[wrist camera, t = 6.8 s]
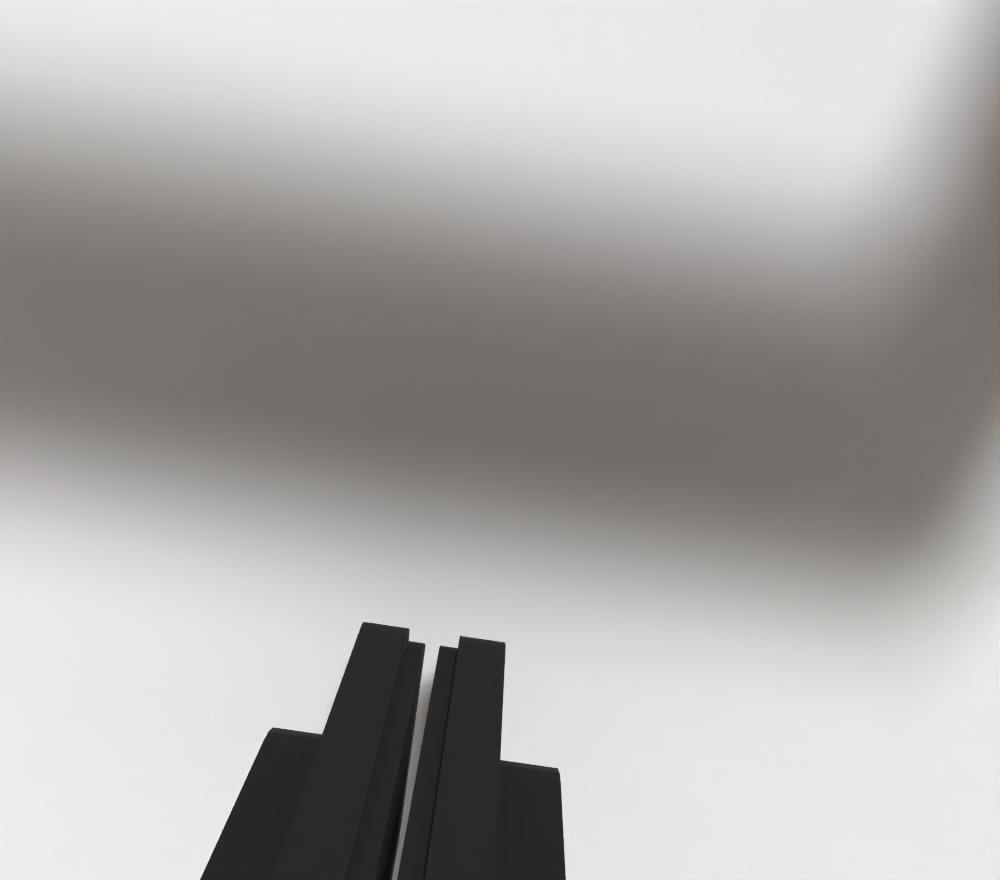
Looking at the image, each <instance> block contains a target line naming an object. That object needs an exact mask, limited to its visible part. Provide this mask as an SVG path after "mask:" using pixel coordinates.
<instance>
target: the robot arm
mask: <svg viewBox="0 0 1000 880" xmlns="http://www.w3.org/2000/svg"><path fill="white" fill-rule="evenodd" d="M424 652H425V644H424V643H417V642H410V641H409V628H402V627H395V626H388V625H381V624H374V623H367V622H363V623H362V626H361V628H360V631H359V634H358V636H357V639H356V642H355V645H354V648H353V650H352V653H351V656H350V659H349V661H348V664H347V667H346V670H345V673H344V675H343V678H342V681H341V684H340V687H339V689H338V692H337V695H336V698H335V700H334V703H333V706H332V709H331V712H330V714H329V717H328V720H327V723H326V726H325V728H324V731H323V734H315V733H308V732H301V731H294V730H287V729H280V728H272V729H271V730H270V731H269V732H268V734H267V736H266V737H265V739H264V741H263V743H262V745H261V748H260V750H259V752H258V754H257V756H256V759H255V761H254V763H253V765H252V767H251V770H250V772H249V774H248V776H247V778H246V781H245V783H244V785H243V787H242V789H241V791H240V794H239V796H238V798H237V800H236V802H235V805H234V807H233V809H232V811H231V813H230V816H229V818H228V820H227V822H226V824H225V827H224V829H223V831H222V833H221V835H220V838H219V840H218V842H217V844H216V846H215V848H214V851H213V853H212V855H211V857H210V859H209V862H208V864H207V866H206V868H205V870H204V873H203V875H202V877H201V879H200V880H391V879H392V874H393V869H394V864H395V858H396V853H397V847H398V841H399V834H400V828H401V821H402V813H403V806H404V799H405V791H406V784H407V777H408V769H409V762H410V755H411V748H412V740H413V733H414V726H415V718H416V711H417V704H418V696H419V689H420V682H421V674H422V667H423V660H424ZM504 666H505V643H504V642H498V641H491V640H484V639H477V638H470V637H463V636H460V639H459V645H458V648H452V647H445V646H440V648H439V653H438V659H437V664H436V670H435V675H434V681H433V686H432V692H431V697H430V703H429V708H428V714H427V719H426V725H425V730H424V736H423V741H422V747H421V752H420V758H419V763H418V769H417V774H416V780H415V785H414V791H413V796H412V802H411V807H410V813H409V818H408V824H407V829H406V835H405V840H404V845H403V851H402V856H401V862H400V867H399V873H398V878H397V880H566V877H565V858H564V838H563V819H562V800H561V782H560V773H559V771H558V768H551V767H544V766H537V765H530V764H524V763H517V762H510V761H503V760H500V751H501V730H502V709H503V688H504Z"/></svg>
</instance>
